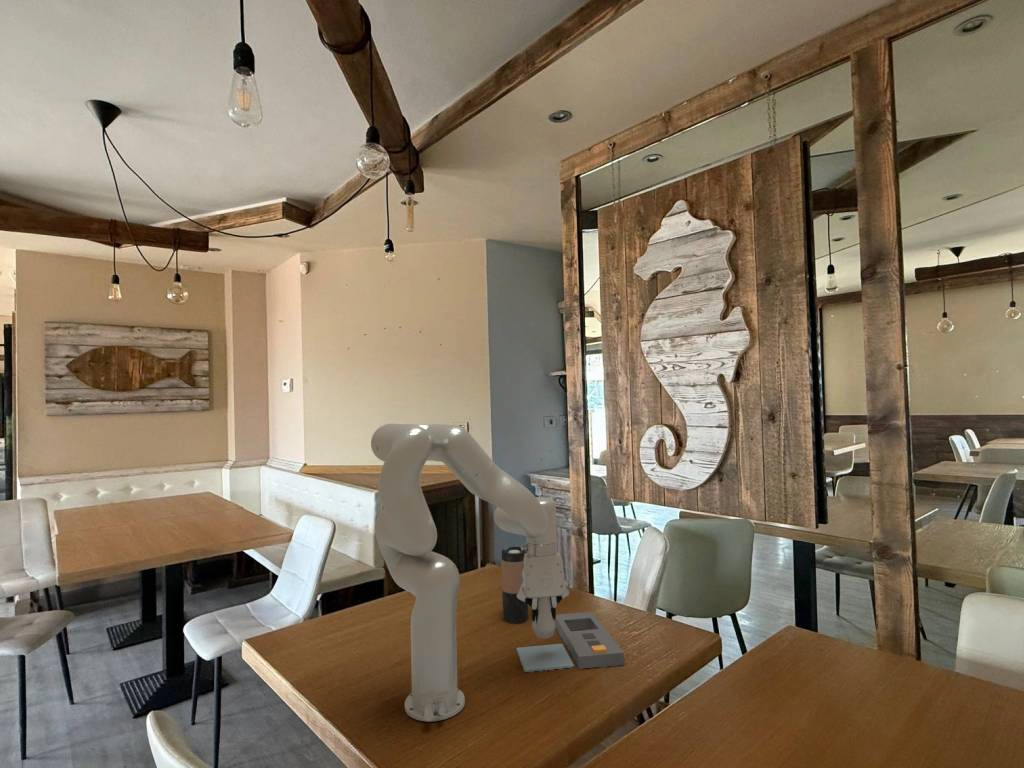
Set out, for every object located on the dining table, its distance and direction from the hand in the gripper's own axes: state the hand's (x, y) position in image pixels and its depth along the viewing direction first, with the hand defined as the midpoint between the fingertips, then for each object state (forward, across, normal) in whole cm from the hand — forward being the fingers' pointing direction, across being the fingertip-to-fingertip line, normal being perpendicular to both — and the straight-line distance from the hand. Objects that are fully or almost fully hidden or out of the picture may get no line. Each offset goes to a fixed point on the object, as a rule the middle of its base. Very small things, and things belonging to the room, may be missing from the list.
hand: (543, 622), depth 137 cm
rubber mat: (+9, 0, 0) cm, 9 cm away
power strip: (+9, +12, +6) cm, 16 cm away
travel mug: (+9, -3, +26) cm, 28 cm away
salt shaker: (+3, 0, 0) cm, 3 cm away
